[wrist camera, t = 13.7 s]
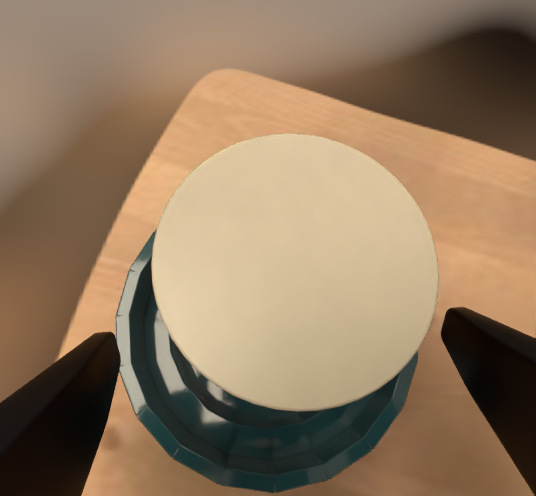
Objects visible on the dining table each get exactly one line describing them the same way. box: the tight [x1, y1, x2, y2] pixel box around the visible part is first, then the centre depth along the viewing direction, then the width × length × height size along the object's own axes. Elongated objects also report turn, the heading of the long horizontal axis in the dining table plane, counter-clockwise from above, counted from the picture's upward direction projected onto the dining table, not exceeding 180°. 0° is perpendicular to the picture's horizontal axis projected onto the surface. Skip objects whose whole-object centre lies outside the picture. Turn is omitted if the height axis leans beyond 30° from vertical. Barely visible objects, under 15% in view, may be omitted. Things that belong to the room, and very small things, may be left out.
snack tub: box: [151, 134, 439, 412], centre depth 12 cm, size 6×6×12 cm
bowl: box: [116, 229, 418, 493], centre depth 16 cm, size 13×13×4 cm
